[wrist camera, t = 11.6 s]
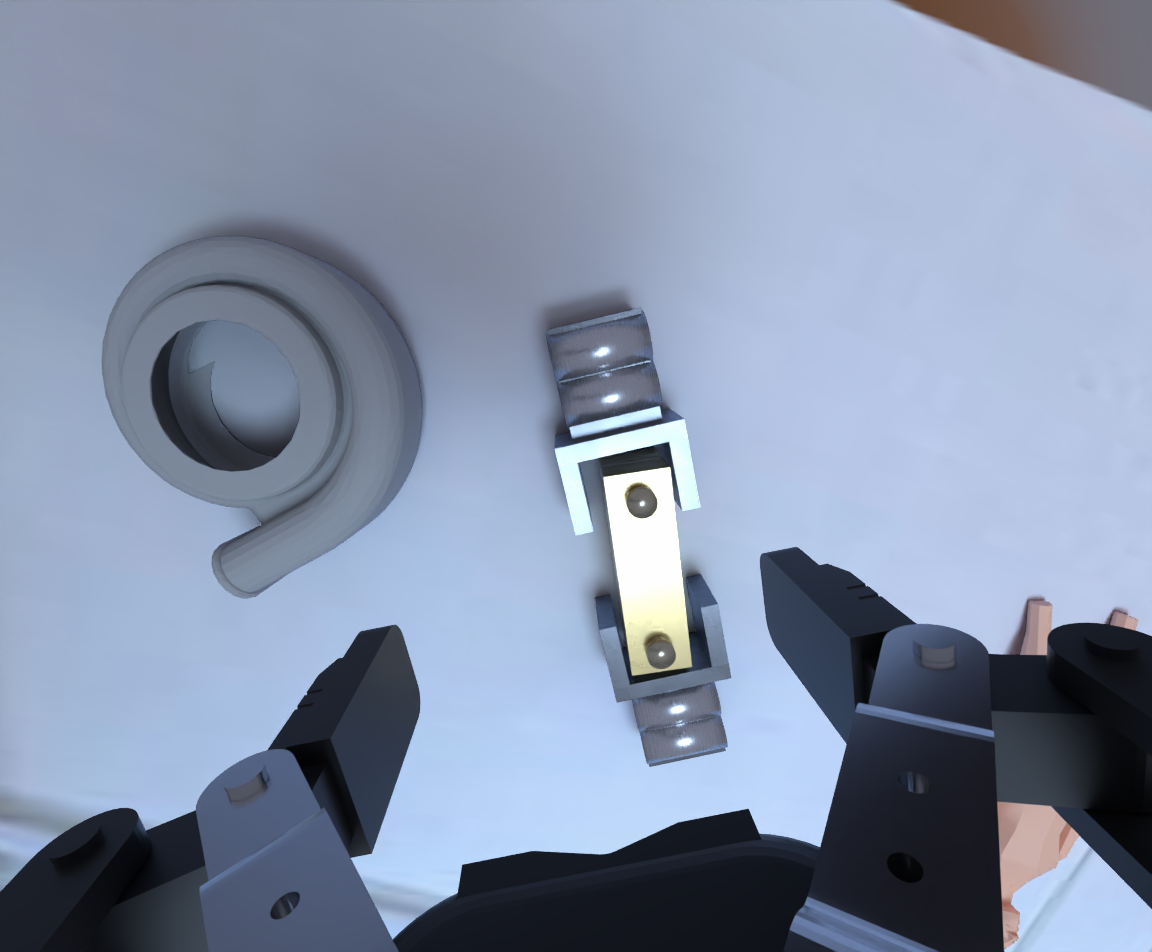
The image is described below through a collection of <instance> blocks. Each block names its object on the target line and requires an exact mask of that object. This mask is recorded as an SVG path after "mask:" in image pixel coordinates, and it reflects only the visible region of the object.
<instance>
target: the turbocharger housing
mask: <svg viewBox="0 0 1152 952" xmlns="http://www.w3.org/2000/svg"><path fill="white" fill-rule="evenodd" d="M212 320H225V321H230V322H235V323H240V324H244V325H246V326H248V327H250V328H252V329H254V330H256V331H258V332H260V333H261V334H262V335H264V336H265V337H266V338H268V339H269V340H270V341H271V342H273V343H274V344H275V346H276V347H277V348H278V349H279V351H280V352H281V353H282V354H283V356H284V357H285V358H286V359H287V361H288V362H289V363H290V366H291V368H292V370H293V373H294V375H295V377H296V379H297V383H298V387H299V392H300V396H301V399H300V419H299V422H298V425H297V427H296V430H295V433H294V435H293V438H292V440H291V441H290V443H289V444H288V445H287V446H286V447H285V449H284V450H283V451H282V452H281V453H280V454H279V455H278V456H277V457H272V456H267V455H263V454H259V453H257V452H255V451H253V450H251V449H249V448H247V447H245V446H244V445H243V444H241V443H240V442H239V441H237V440H236V439H235V438H233V436H232V435H231V434H230V433H229V431H228V430H227V429H226V428H225V426H224V425H223V424H222V423H221V421H220V419H219V416H218V414H217V412H216V409H215V407H214V404H213V401H212V393H211V373H212V368H213V365H214V363H215V361H214V362H212V363H210V364H208V365H206V366H204V367H202V368H200V369H198V370H195V371H193V372H191V373H189V368H188V355H189V351H190V348H191V345H192V342H193V339H194V338H195V337H196V335H197V334H198V332H199V331H200V329H201V328H202V327H203V325H204V324H205V323H206V322H207V321H212ZM102 373H103V380H104V386H105V393H106V397H107V400H108V403H109V406H110V409H111V412H112V415H113V417H114V419H115V421H116V423H117V425H118V427H119V429H120V431H121V432H122V434H123V436H124V437H125V439H126V441H127V442H128V444H129V445H130V446H131V448H132V449H133V450H134V451H135V452H136V454H137V455H138V456H139V457H140V458H141V459H142V461H143V462H144V463H145V464H146V465H147V466H148V467H149V468H150V469H151V470H153V471H154V472H155V473H156V474H157V475H159V476H160V477H161V478H162V479H163V480H165V481H166V482H168V483H169V484H170V485H172V486H174V487H176V488H177V489H179V490H181V491H183V492H185V493H187V494H189V495H191V496H193V497H196V498H198V499H201V500H204V501H207V502H210V503H213V504H218V505H222V506H227V507H237V508H249V509H251V510H252V511H253V512H254V514H255V515H256V517H257V518H258V520H259V521H260V523H261V524H262V526H258V527H256V528H254V529H252V530H250V531H248V532H246V533H244V534H242V535H239V536H237V537H235V538H233V539H231V540H229V541H227V542H225V543H223V544H221V545H219V546H218V548H217V549H216V550H215V551H214V553H213V556H212V568H213V573H214V575H215V577H216V578H217V580H218V582H219V583H220V584H221V586H222V587H223V588H224V589H225V590H226V591H228V592H229V593H231V594H232V595H234V596H237V597H240V598H251V597H256V596H257V595H259V594H260V593H261V592H263V591H264V590H266V589H267V588H269V587H270V586H272V585H273V584H274V583H276V582H277V581H279V580H280V579H282V578H283V577H284V576H286V575H287V574H289V573H291V572H292V571H294V570H296V569H298V568H300V567H302V566H303V565H305V564H307V563H309V562H311V561H313V560H314V559H316V558H318V557H320V556H322V555H323V554H325V553H327V552H329V551H331V550H333V549H334V548H336V547H337V546H339V545H340V544H342V543H343V542H344V541H346V540H347V539H348V538H350V537H351V536H352V535H354V534H355V533H357V532H358V531H359V530H361V529H362V528H363V527H365V526H366V525H368V524H369V523H370V522H371V521H373V520H374V519H375V518H376V517H378V516H379V515H380V514H381V513H382V512H383V511H384V510H385V509H386V508H387V506H388V505H389V504H390V503H391V502H392V500H393V499H394V498H395V496H396V495H397V494H398V492H399V491H400V489H401V487H402V486H403V484H404V482H405V481H406V479H407V477H408V474H409V472H410V470H411V468H412V465H413V462H414V460H415V457H416V453H417V449H418V446H419V440H420V435H421V425H422V401H421V391H420V384H419V380H418V375H417V371H416V368H415V365H414V362H413V359H412V356H411V354H410V351H409V349H408V347H407V345H406V343H405V341H404V339H403V337H402V335H401V333H400V331H399V330H398V328H397V327H396V325H395V323H394V322H393V320H392V319H391V318H390V316H389V315H388V314H387V312H386V311H385V310H384V309H383V307H382V306H381V305H380V304H379V302H378V301H377V300H376V299H375V298H374V297H373V296H372V295H371V294H370V293H369V292H368V291H367V290H366V289H364V288H363V287H362V286H361V285H360V284H359V283H357V282H356V281H355V280H353V279H352V278H350V277H349V276H348V275H346V274H345V273H343V272H341V271H340V270H338V269H336V268H335V267H333V266H331V265H329V264H327V263H325V262H323V261H321V260H318V259H316V258H314V257H311V256H309V255H307V254H304V253H302V252H300V251H297V250H295V249H293V248H290V247H287V246H285V245H282V244H279V243H276V242H272V241H268V240H265V239H258V238H252V237H246V236H220V237H209V238H203V239H199V240H194V241H190V242H187V243H184V244H181V245H178V246H176V247H174V248H172V249H170V250H168V251H166V252H164V253H162V254H161V255H159V256H157V257H156V258H154V259H153V260H152V261H150V262H149V263H148V264H146V265H145V266H144V267H143V268H142V269H141V270H140V271H139V272H138V273H137V274H136V275H135V276H134V277H133V278H132V279H131V280H130V282H129V283H128V284H127V285H126V287H125V288H124V290H123V291H122V293H121V294H120V296H119V298H118V300H117V302H116V304H115V305H114V307H113V310H112V312H111V314H110V316H109V320H108V324H107V328H106V332H105V336H104V340H103V350H102Z"/></svg>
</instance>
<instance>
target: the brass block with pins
mask: <svg viewBox="0 0 1152 952" xmlns="http://www.w3.org/2000/svg"><path fill="white" fill-rule="evenodd" d="M598 463H599V470H600V477H601V484H602V491H603V497H604V504H605V511H606V518H607V525H608V532H609V539H610V546H611V553H612V559H613V566H614V573H615V580H616V587H617V594H618V601H619V608H620V615H621V621H622V628H623V634H624V639H625V644H626V649H627V654H628V658H629V663H630V668H631V673H632V676H634V675H641V674H647V673H654V672H661V671H667V670H674V669H681V668H688V667H692V661H691V652H690V643H689V634H688V625H687V616H686V607H685V598H684V589H683V580H682V571H681V562H680V553H679V544H678V535H677V526H676V517H675V507H674V498H673V489H672V480H671V471H670V467H669V465H668V464H667V463H666V462H665V460H664V459H663V458H662V457H661V455H660V454H659V453H658V452H657V450H656V449H655V448H653V449H647V450H640V451H634V452H627V453H621V454H614V455H609V456H604V457H600V458H598Z"/></svg>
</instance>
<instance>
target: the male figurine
mask: <svg viewBox="0 0 1152 952" xmlns="http://www.w3.org/2000/svg"><path fill="white" fill-rule="evenodd" d="M1051 622H1052V604H1050V603H1049V602H1046V601H1043V600H1031V601H1029V602H1028V612H1027V626H1026V634H1025V637H1024V641H1023V645H1022V648H1021V652H1020V655H1047V638H1048V634H1049V633H1050V632H1051ZM1137 623H1138V619H1136V618H1133V617H1131V616H1128V615H1126V614H1123V613H1120V612H1117V611H1114V613H1113V616H1112V619H1111V622H1110V625H1114V626H1119V627H1124V628H1128V629H1132V630H1136V626H1137ZM997 806H998V828H999V849H1000V871H1001V893H1002V915H1003V937H1004V949H1006V948H1007V947H1009V946H1010V945H1011V944H1013V943H1014V941H1017V940H1018V938H1019V937H1018V935H1017V933H1016V932H1017V931H1018V930H1019V929H1018V925H1019V922H1020V920H1019V916H1020V912H1018V911H1017V910H1016V909H1015V908H1014V907H1013V906H1012V905H1011V900H1012V897H1013V893H1014V892H1016V891H1017V890H1018V889H1019V888H1021V887H1022V886H1023V885H1024V884H1026V883H1027V882H1029V881H1031V880H1033V879H1034V878H1036V877H1038V876H1040V875H1042V874H1044V873H1046V872H1048V871H1050V870H1052V869H1054V868H1056V866H1057V864H1058V861H1060V860H1062V859H1064V858H1066V857H1067V855H1068V853H1069V852H1070V850H1071V848H1072V847H1073V845H1074V843H1075V842H1076V840H1077V838H1078V836H1079V834H1078V833H1077V832H1076V831H1075V830H1074V829H1073V828H1072V827H1071V826H1070V825H1069V824H1068V823H1067V822H1066V821H1065V820H1064V819H1063V818H1062V817H1061V816H1060V815H1059V814H1058V813H1057V812H1056V811H1055V810H1054V809H1053V808H1052V807H1051V806H1044V805H1032V804H1020V803H1008V802H997Z"/></svg>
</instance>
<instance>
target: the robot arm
mask: <svg viewBox="0 0 1152 952" xmlns="http://www.w3.org/2000/svg"><path fill="white" fill-rule="evenodd" d="M760 569H761V578H762V587H763V596H764V605H765V614H766V621H767V626H768V630H769V633H770V636H771V638H772V641H773V643H774V645H775V647H776V648H777V650H778V651H779V652H780V654H781V655H782V656H783V658H784V659H785V660H786V662H787V663H788V665H789V666H790V667H791V669H792V670H793V671H794V673H795V674H796V675H797V677H798V678H799V680H800V681H801V682H802V684H803V685H804V686H805V688H806V689H807V690H808V692H809V693H810V695H811V696H812V697H813V699H814V700H815V701H816V703H817V704H818V705H819V707H820V708H821V710H822V711H823V712H824V714H825V715H826V716H827V718H828V719H829V720H830V722H831V723H832V725H833V726H834V727H835V729H836V730H837V731H838V733H839V734H840V736H841V737H842V738H843V740H844V741H845V742H846V744H847V745H846V749H845V753H844V757H843V761H842V765H841V768H840V772H839V776H838V780H837V784H836V788H835V792H834V796H833V800H832V804H831V808H830V811H829V815H828V819H827V823H826V827H825V831H824V835H823V839H822V843H821V847H818V846H815V845H813V844H810V843H807V842H803V841H800V840H796V839H792V838H789V837H783V836H776V835H770V834H759V832H758V830H757V828H756V825H755V823H754V821H753V818H752V816H751V814H750V811H749V809H745V810H740V811H735V812H730V813H725V814H720V815H714V816H709V817H704V818H699V819H694V820H689V821H684V822H679V823H676V824H674V825H672V826H670V827H667V828H665V829H663V830H661V831H659V832H657V833H654V834H652V835H650V836H648V837H646V838H643V839H641V840H639V841H637V842H635V843H633V844H630V845H628V846H626V847H624V848H622V849H619V850H617V851H615V852H612V853H609V854H601V855H599V854H579V853H560V852H541V851H531V852H525V853H520V854H515V855H510V856H505V857H500V858H495V859H490V860H485V861H480V862H474V863H469V864H464V865H462V870H461V876H460V883H459V889H458V893H457V894H455V895H453V896H451V897H449V898H447V899H445V900H443V901H442V902H440V903H438V904H437V905H435V906H433V907H432V908H430V909H429V910H427V911H426V912H425V913H423V914H422V915H420V916H419V917H418V918H416V919H415V920H414V921H413V922H411V923H410V924H409V925H408V926H407V927H406V928H404V929H403V930H402V931H401V932H400V933H399V934H398V935H397V936H396V937H395V938H394V939H393V940H392V938H391V936H390V934H389V932H388V930H387V928H386V926H385V924H384V922H383V920H382V918H381V916H380V914H379V912H378V910H377V908H376V907H375V905H374V903H373V901H372V899H371V897H370V895H369V893H368V891H367V889H366V887H365V885H364V883H363V881H362V879H361V877H360V875H359V873H358V872H357V870H356V868H355V866H354V864H353V862H352V860H351V858H352V857H357V856H362V855H367V854H372V851H373V848H374V846H375V843H376V840H377V837H378V834H379V831H380V828H381V825H382V822H383V819H384V816H385V814H386V811H387V808H388V805H389V802H390V799H391V796H392V793H393V790H394V787H395V784H396V781H397V779H398V776H399V773H400V770H401V767H402V764H403V761H404V758H405V755H406V752H407V749H408V746H409V744H410V741H411V738H412V735H413V732H414V729H415V726H416V723H417V720H418V717H419V713H420V693H419V688H418V684H417V681H416V677H415V674H414V671H413V667H412V664H411V661H410V657H409V654H408V651H407V647H406V644H405V641H404V637H403V634H402V632H401V630H400V628H399V627H398V626H397V625H391V626H386V627H381V628H375V629H370V630H365V631H361V632H360V633H359V634H358V635H357V637H356V638H355V640H354V641H353V643H352V645H351V646H350V648H349V649H348V651H347V652H346V654H345V655H344V657H343V658H339V659H337V660H336V661H335V662H334V663H332V664H331V665H330V666H329V667H328V668H326V669H325V670H324V671H323V672H322V673H320V674H319V675H318V677H317V678H316V680H315V681H314V683H313V684H312V685H311V687H310V688H309V690H308V691H307V695H305V696H304V697H303V699H302V700H301V702H300V703H299V705H298V706H297V707H298V709H297V710H294V712H293V713H292V715H291V716H290V718H289V719H288V721H287V722H286V724H285V725H284V727H283V728H282V729H281V731H280V732H279V734H278V735H277V737H276V738H275V740H274V741H273V743H272V744H271V746H270V747H269V749H268V750H267V751H263V752H260V753H257V754H254V755H252V756H250V757H247V758H245V759H243V760H241V761H239V762H238V763H236V764H234V765H233V766H231V767H230V768H228V769H227V770H225V771H224V772H223V773H221V774H220V775H219V776H218V777H217V778H215V779H214V780H213V781H212V782H211V783H210V784H209V785H208V786H207V788H206V789H205V790H204V791H203V793H202V794H201V796H200V798H199V799H198V801H197V805H196V810H195V811H193V812H190V813H188V814H186V815H183V816H181V817H178V818H176V819H173V820H171V821H169V822H166V823H164V824H161V825H159V826H156V827H154V828H151V829H149V830H147V831H146V830H145V828H144V826H143V824H142V822H141V820H140V818H139V816H138V814H137V812H136V811H135V810H133V809H130V808H119V809H113V810H110V811H106V812H104V813H101V814H98V815H96V816H93V817H91V818H89V819H87V820H85V821H83V822H81V823H79V824H77V825H76V826H74V827H72V828H71V829H69V830H67V831H66V832H64V833H63V834H61V835H60V836H58V837H57V838H55V839H54V840H53V841H52V842H50V843H49V844H48V845H46V846H45V847H44V848H43V849H42V850H40V851H39V852H38V853H37V854H36V855H35V856H34V857H33V858H32V859H31V860H30V861H29V862H28V863H27V864H26V865H25V866H24V867H23V868H22V869H21V871H20V872H19V873H18V874H17V875H16V876H15V877H14V878H13V879H12V880H11V881H10V882H9V883H8V884H7V885H6V886H5V888H4V889H3V890H2V891H1V892H0V952H1004V937H1003V915H1002V893H1001V871H1000V849H999V828H998V806H997V802H1008V803H1020V804H1032V805H1044V806H1051V807H1052V808H1053V809H1054V810H1055V811H1056V812H1057V813H1058V814H1059V815H1060V816H1061V817H1062V818H1063V819H1064V820H1065V821H1066V822H1067V823H1068V824H1069V825H1070V826H1071V827H1072V828H1073V829H1074V830H1075V831H1076V832H1077V833H1078V834H1079V836H1080V837H1081V838H1082V839H1083V840H1084V841H1085V842H1086V843H1087V844H1088V845H1089V846H1090V847H1091V848H1092V849H1093V850H1094V851H1095V852H1096V853H1097V854H1098V855H1099V856H1100V857H1101V858H1102V859H1103V860H1104V861H1105V862H1106V863H1107V864H1108V865H1109V866H1110V867H1111V868H1112V869H1113V870H1114V871H1115V872H1116V873H1117V874H1118V875H1119V876H1120V877H1121V878H1122V879H1123V880H1124V881H1125V882H1126V883H1127V884H1128V885H1129V886H1130V887H1131V888H1132V889H1133V890H1134V891H1135V892H1136V893H1137V894H1138V895H1139V896H1140V897H1141V899H1142V900H1143V901H1144V902H1145V903H1146V904H1147V905H1148V906H1149V907H1150V908H1151V909H1152V636H1149V635H1147V634H1144V633H1141V632H1138V631H1135V630H1132V629H1128V628H1124V627H1119V626H1114V625H1108V624H1099V623H1074V624H1067V625H1062V626H1060V627H1057V628H1055V629H1053V630H1052V631H1051V632H1050V633H1049V634H1048V638H1047V655H999V654H988V651H987V649H986V647H985V646H984V645H983V644H982V643H981V642H980V641H978V640H977V639H976V638H974V637H972V636H971V635H969V634H967V633H964V632H962V631H959V630H956V629H953V628H949V627H945V626H940V625H932V624H916V623H915V622H913V621H912V620H911V619H910V618H908V617H907V616H906V615H904V614H903V613H902V612H901V611H899V610H898V609H897V608H895V607H894V606H893V605H892V604H890V603H889V602H888V601H886V600H885V599H884V598H883V597H881V596H880V597H879V596H878V594H877V593H876V592H875V591H874V590H872V589H871V588H870V587H868V586H867V587H866V586H865V583H863V582H862V581H861V580H860V579H858V578H857V577H856V576H854V575H853V574H852V573H851V572H848V571H846V570H843V569H840V568H838V567H835V566H832V565H829V564H824V565H818V564H817V563H816V562H815V561H813V560H812V559H811V558H810V557H809V556H808V555H806V554H805V553H804V552H803V551H802V550H800V549H799V548H798V547H793V548H788V549H783V550H778V551H773V552H768V553H763V554H761V557H760Z"/></svg>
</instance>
